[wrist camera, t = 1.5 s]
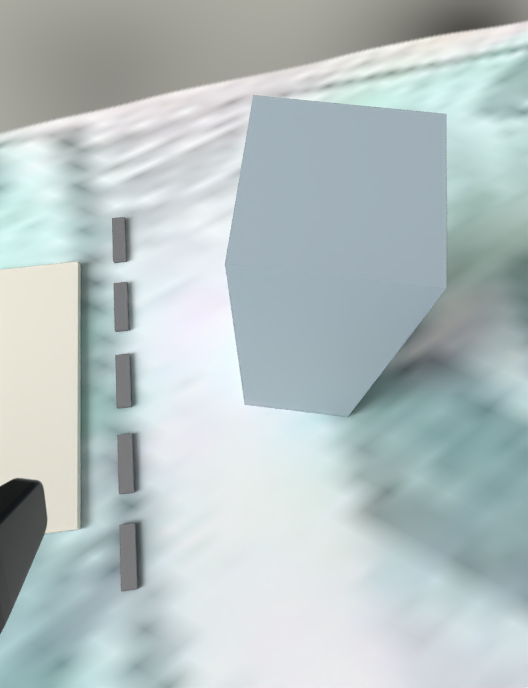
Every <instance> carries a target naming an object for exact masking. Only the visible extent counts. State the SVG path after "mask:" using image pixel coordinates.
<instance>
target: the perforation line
mask: <svg viewBox="0 0 528 688" xmlns="http://www.w3.org/2000/svg"><path fill="white" fill-rule="evenodd" d="M112 234H113V261H114V263H118V262H127V253H126V224H125V218H124V217H120V218H112ZM114 316H115V331H116V332H120V331H129V311H128V284H127V282H120V283H114ZM115 357H116V398H117V408H118V409H119V408H127V407H132V397H131V368H130V354H121V355H115ZM117 439H118V480H119V494H126V493H134V492H135V483H134V454H133V434H124V435H117ZM120 561H121V591H127V590H135V589H138V569H137V540H136V523H132V524H124V525H120Z"/></svg>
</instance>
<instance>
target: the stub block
mask: <svg viewBox="0 0 528 688" xmlns="http://www.w3.org/2000/svg"><path fill="white" fill-rule="evenodd" d="M225 267H226V274H227V281H228V288H229V296H230V303H231V310H232V317H233V324H234V331H235V339H236V346H237V353H238V360H239V367H240V374H241V382H242V389H243V396H244V403H245V405H253V406H261V407H270V408H278V409H286V410H295V411H303V412H311V413H319V414H328V415H336V416H344V417H348V416H349V415H350V413H351V412H352V411H353V409H354V408H355V407H356V405H357V404H358V403H359V402H360V400H361V399H362V398H363V396H364V395H365V394H366V392H367V391H368V390H369V389H370V387H371V386H372V385H373V383H374V382H375V381H376V379H377V378H378V377H379V376H380V374H381V373H382V372H383V370H384V369H385V368H386V366H387V365H388V364H389V363H390V361H391V360H392V359H393V357H394V356H395V355H396V353H397V352H398V351H399V350H400V348H401V347H402V346H403V344H404V343H405V342H406V340H407V339H408V338H409V337H410V335H411V334H412V333H413V331H414V330H415V329H416V327H417V326H418V325H419V324H420V322H421V321H422V320H423V318H424V317H425V316H426V314H427V313H428V312H429V311H430V309H431V308H432V307H433V305H434V304H435V303H436V301H437V300H438V299H439V298H440V296H441V295H442V294H443V292H444V291H445V290H446V288H447V168H446V114H442V113H431V112H421V111H411V110H401V109H390V108H380V107H370V106H359V105H349V104H339V103H329V102H318V101H308V100H298V99H287V98H277V97H267V96H257V95H253V100H252V106H251V112H250V118H249V124H248V130H247V136H246V142H245V148H244V154H243V160H242V166H241V172H240V178H239V184H238V190H237V196H236V201H235V207H234V213H233V219H232V225H231V231H230V237H229V243H228V249H227V255H226V261H225Z"/></svg>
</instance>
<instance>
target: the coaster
mask: <svg viewBox="0 0 528 688" xmlns="http://www.w3.org/2000/svg"><path fill="white" fill-rule="evenodd" d="M15 478H25V479H33V480H38V481H40V482H41V483H42V484H43V487H44V493H45V501H46V509H47V519H48V520H47V528H46V531H45V534H48V533H56V532H63V531H71V530H79V529H81V265H80V264H79V262H69V263H60V264H50V265H41V266H31V267H22V268H12V269H3V270H0V486H1V485H3V484H5V483H6V482H8V481H10V480H12V479H15Z"/></svg>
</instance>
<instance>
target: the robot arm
mask: <svg viewBox="0 0 528 688" xmlns="http://www.w3.org/2000/svg"><path fill="white" fill-rule="evenodd" d="M47 520H48V519H47V509H46V501H45V493H44V487H43V484H42V483H41V482H40V481H38V480H33V479H25V478H15V479H12V480H10V481H8V482H6V483H5V484H3V485H1V486H0V634H1V632H2V630H3V628H4V626H5V624H6V622H7V620H8V618H9V615H10V613H11V611H12V609H13V606H14V604H15V602H16V599H17V597H18V595H19V592H20V590H21V588H22V585H23V583H24V581H25V578H26V576H27V574H28V571H29V569H30V567H31V564H32V562H33V560H34V557H35V555H36V553H37V550H38V548H39V546H40V543H41V541H42V539H43V536H44V534H45V531H46V528H47Z"/></svg>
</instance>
